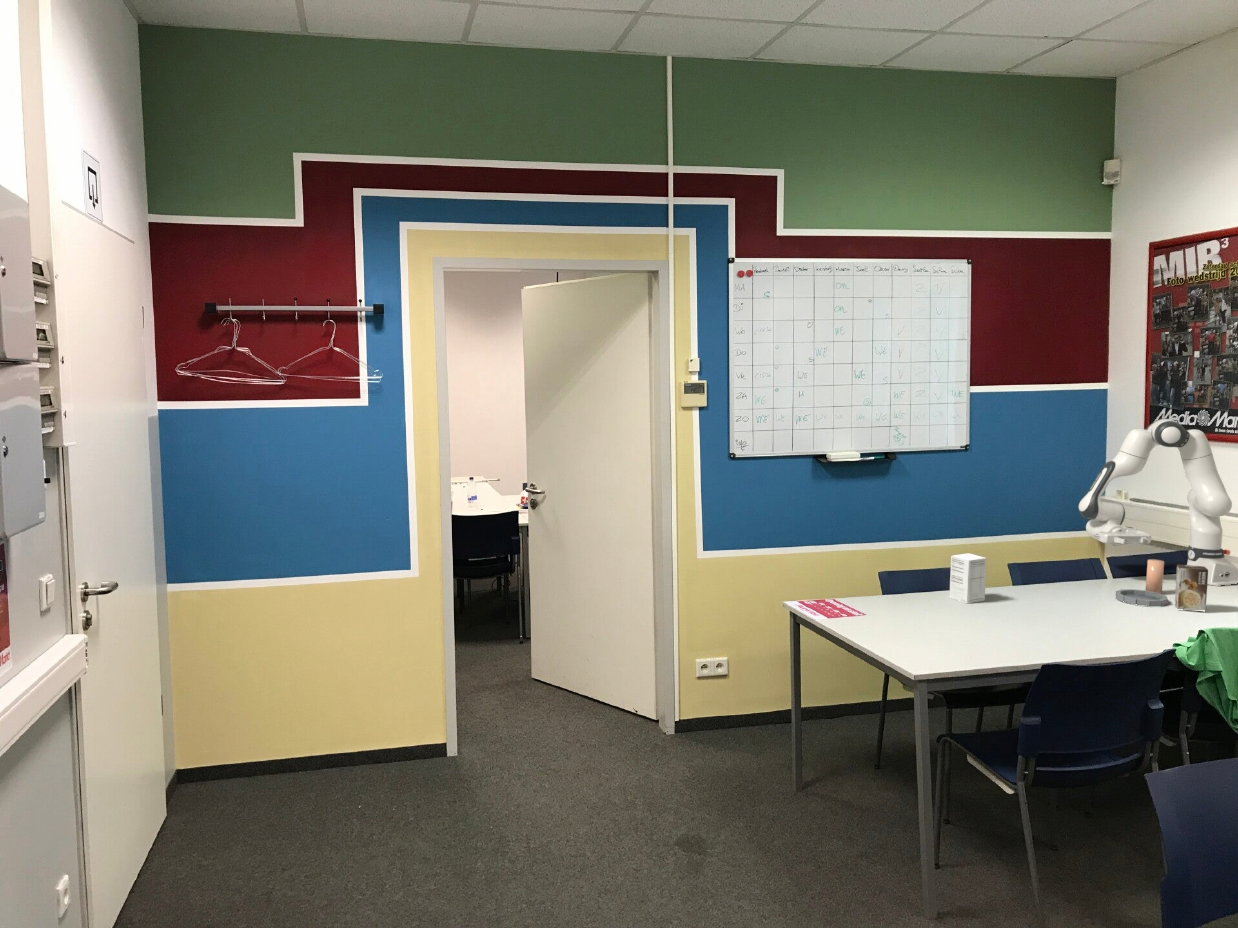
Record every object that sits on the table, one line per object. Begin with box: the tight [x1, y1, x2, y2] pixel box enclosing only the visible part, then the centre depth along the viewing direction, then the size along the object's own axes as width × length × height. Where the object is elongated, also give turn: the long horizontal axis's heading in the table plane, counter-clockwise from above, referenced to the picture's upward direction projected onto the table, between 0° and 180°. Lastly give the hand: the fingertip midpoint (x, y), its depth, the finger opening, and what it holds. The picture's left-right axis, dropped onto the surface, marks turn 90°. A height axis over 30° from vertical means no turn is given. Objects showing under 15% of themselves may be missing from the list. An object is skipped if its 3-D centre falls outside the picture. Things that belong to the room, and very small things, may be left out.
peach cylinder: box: [1145, 558, 1165, 595], centre depth 361 cm, size 6×6×13 cm
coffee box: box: [1174, 564, 1208, 610], centre depth 338 cm, size 9×6×16 cm
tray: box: [1115, 588, 1169, 607], centre depth 350 cm, size 17×17×2 cm
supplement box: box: [949, 552, 988, 604], centre depth 350 cm, size 10×9×17 cm
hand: (1136, 541), depth 371 cm, fingers open, 8 cm apart
